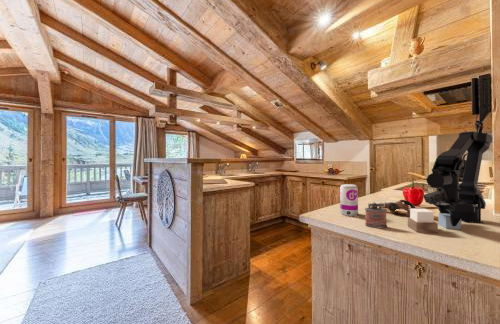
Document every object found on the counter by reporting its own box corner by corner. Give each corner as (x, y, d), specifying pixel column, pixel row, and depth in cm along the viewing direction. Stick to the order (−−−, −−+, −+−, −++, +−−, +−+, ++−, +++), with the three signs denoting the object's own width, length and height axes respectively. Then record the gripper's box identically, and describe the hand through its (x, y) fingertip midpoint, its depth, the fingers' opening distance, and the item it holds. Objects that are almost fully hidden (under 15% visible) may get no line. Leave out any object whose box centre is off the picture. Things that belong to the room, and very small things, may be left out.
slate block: (452, 225, 91) (452, 213, 91) (461, 229, 87) (461, 216, 86) (438, 224, 93) (438, 213, 92) (446, 228, 88) (446, 216, 88)
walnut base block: (427, 227, 90) (427, 218, 90) (437, 233, 83) (437, 223, 83) (408, 227, 92) (407, 217, 91) (416, 232, 85) (416, 222, 85)
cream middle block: (425, 218, 90) (425, 208, 89) (433, 222, 84) (433, 212, 84) (410, 218, 91) (410, 208, 91) (417, 222, 85) (417, 211, 85)
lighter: (365, 226, 93) (365, 203, 93) (364, 224, 96) (364, 201, 96) (387, 228, 90) (387, 204, 90) (385, 225, 93) (385, 202, 93)
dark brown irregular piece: (401, 212, 115) (410, 199, 111) (412, 225, 107) (422, 212, 103) (380, 207, 115) (388, 194, 111) (389, 219, 106) (398, 207, 102)
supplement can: (361, 216, 108) (360, 186, 108) (344, 216, 108) (343, 186, 108) (353, 212, 116) (353, 183, 116) (337, 212, 116) (337, 184, 116)
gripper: (414, 182, 100) (415, 216, 100) (440, 189, 82) (440, 230, 82) (443, 182, 97) (443, 217, 98) (476, 189, 79) (476, 232, 80)
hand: (449, 223), depth 90 cm, fingers open, 5 cm apart
